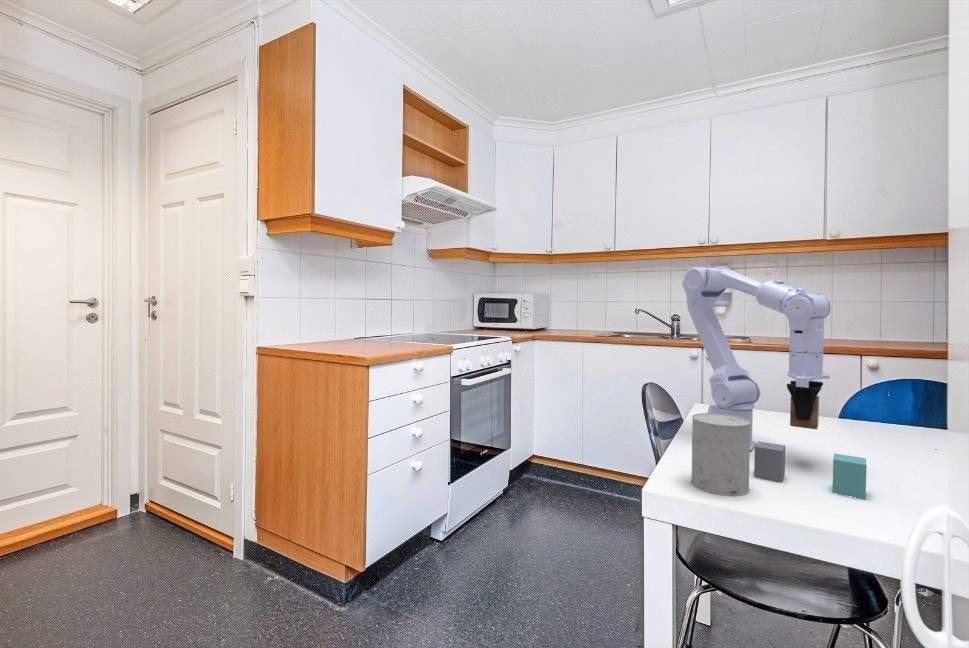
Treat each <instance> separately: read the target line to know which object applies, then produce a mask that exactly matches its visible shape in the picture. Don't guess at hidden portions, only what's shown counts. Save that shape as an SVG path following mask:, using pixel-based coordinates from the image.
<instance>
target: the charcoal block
mask: <svg viewBox="0 0 969 648" xmlns="http://www.w3.org/2000/svg"><path fill="white" fill-rule="evenodd" d="M753 468H754V469H753V473H754V475H753V477H754V478H756V479H761V480H765V481H769V482H775V483H779V484H782V483H783V481H784V479H785V477H784V476H786V475H785V474H786V445H784V444H777V443H772V442H767V441H766V442H765V441H757V442H756V444H755V446H754V467H753Z"/></svg>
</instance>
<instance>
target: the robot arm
mask: <svg viewBox="0 0 969 648" xmlns="http://www.w3.org/2000/svg"><path fill="white" fill-rule="evenodd" d="M681 285H682V287H683V290H684V292H685V294H686V305H687V311H688V313H689V315H690V318H691V320H692V322H693V325H694V327H695V330H696V332H697V335H698V337H699V339H700V342H701V344H702V346H703V348H704V351H705V355H706V356H707V360H708V361H709V363H710V365H711V368H712V370H713V373H712V374H711V376H710V377H709V381H708V382H709V383H710V388H711V390H710V391H711V392H710V393H711V398H712V399H713V402H714V403H715V404H716V405H715V404H710V405H709V406H708V409H707V413H718V414H727V415H733V416H738V417H742V418H745V419H748V420H749V421H750V422H751V424H750V451H752V450H753V449H754V448H755V446H756V444H757V441H755V440H753V418H754V417H753V416H754V414H753V412H754V410H753V408H755V403H757V402H758V401H759V400H760V396H761V389H760V388H761V387H760V385H759V384H758V383H757V382H756V381H755V380H754V379H753V378H752V377H751V375H750V373H749V372H748V370H746V369H744V368H743V367H742V366H740V365H739V364H738V362H737V360H736V357H735V355H734V352H733V351H732V348H731V346H730V343H729V342H728V339H727V338H726V337H727V336H726V335H725V333H724V330H723V328H722V327H721V326H722V325H721V324H720V321H719V319H718V317H717V315H716V313H715V310H714V306H715V304H716V303H717V302H718V300H719V299H721V297H722V296H723V294H724V293H725V291H726V290H727V289H732V290H735V291H739V292H742V293H743V294H744V293H745V294H747V295H751V296H753V297H756V298H755V299H756V302H757V303H758V304H759V305H761V306H763V307H765V308H768V309H771V310H773V311H776V312H777V313H781V314H782V315H784V316H785V317H786V318H787V320H788V327H789V351H788V352H789V353H788V371H787V376H788V377H789V378H791V379H793V380H790V382H789V383H787V384H786V388H787V391H788V392H789V394H790V397H791V396H792V399H793V403H794V408H795V414H796V417H797V419H798V420H805V421H809V420H810V418H811V415H812V410H813V405H814V402H815V399H816V396H819V393H820V391H821V390H822V387H823V386H824V382H823V381H819V380H823V379H824V380H830V379H831V375H830V374H828V373H827V374H825V373H824V361H823V360H824V344H825V343H824V336H825V334H824V333H825V331H824V330H825V319H826V318H827V317H828V316H829V315H830V313H831V309H832V307H831V306H832V304H831V303H830V301H829V299H828V298H827V297H826V296H824V295H822V294H821V293H817V292H816V293H815V292H814V293H806V289H805V288H802V287H796V288H794V287H792V286H790V285H786V284H785V281H784V280H781V279H774V280H768V281H765V282H761V281H758V280H756V279H753V278H751V277H749V276H746V275H743V273H742V274H741V273H739V272H737V271H734V270H732V269H725V268H723V267H701V266H692V267H690V268H688V270H687V271H686V273H685V275H684V278H683V280H682V283H681Z"/></svg>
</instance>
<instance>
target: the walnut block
mask: <svg viewBox="0 0 969 648" xmlns="http://www.w3.org/2000/svg"><path fill="white" fill-rule="evenodd" d="M819 409H820V396H819V395H817V396H816V399H815V402H814V405H813V410H812V415H811V418H810V420H809V421H805V420H798V419H797V417H796V414H795V408H794V403H793V399H792V396H791V395H790V409H789V411H790V415H789V417H790V418H789V426H790V427H795V428H803V429H811V430H818V427H819V421H820V420H819V418H820V416H819V415H820V413H819V411H820V410H819Z"/></svg>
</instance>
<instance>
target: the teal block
mask: <svg viewBox="0 0 969 648" xmlns="http://www.w3.org/2000/svg"><path fill="white" fill-rule="evenodd" d="M832 460H833V461H832V494H834V493H837V494H836V495H839V494H842V495H841V496H844V495H847V496H846V497H849V496H852V497H851V498H854V497H856V498H855V499H859V498H861V499H860V500H864V499H866V498H867V494H866V493H867V466H868V465H867V458H866V457H862V456H861V457H860V456H853V455H849V454H848V455H847V454H841V453H833V458H832Z"/></svg>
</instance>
